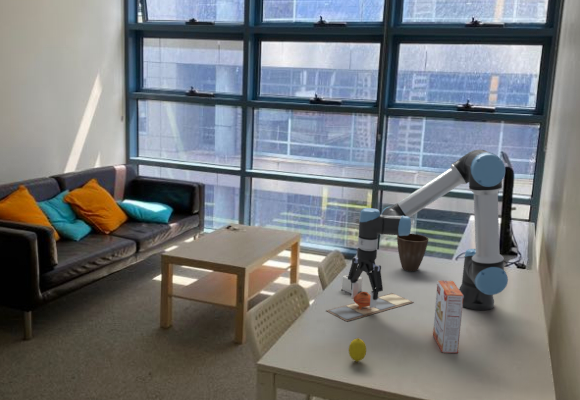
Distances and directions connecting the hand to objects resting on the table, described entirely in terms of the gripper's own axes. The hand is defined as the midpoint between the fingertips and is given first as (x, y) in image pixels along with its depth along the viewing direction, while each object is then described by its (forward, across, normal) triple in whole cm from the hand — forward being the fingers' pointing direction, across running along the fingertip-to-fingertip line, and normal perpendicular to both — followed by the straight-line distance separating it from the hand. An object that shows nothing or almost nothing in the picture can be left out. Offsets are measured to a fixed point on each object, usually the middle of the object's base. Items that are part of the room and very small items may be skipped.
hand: (363, 302), depth 226 cm
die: (+3, -18, +10) cm, 21 cm away
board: (+3, 0, +4) cm, 5 cm away
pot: (+2, 0, 0) cm, 2 cm away
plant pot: (+3, -25, +56) cm, 61 cm away
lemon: (+3, +31, -32) cm, 45 cm away
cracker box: (+3, +38, +2) cm, 38 cm away
